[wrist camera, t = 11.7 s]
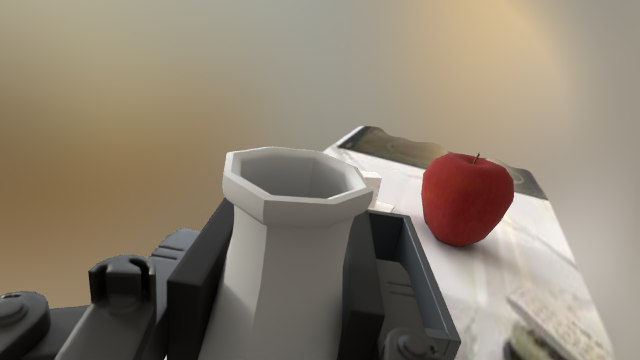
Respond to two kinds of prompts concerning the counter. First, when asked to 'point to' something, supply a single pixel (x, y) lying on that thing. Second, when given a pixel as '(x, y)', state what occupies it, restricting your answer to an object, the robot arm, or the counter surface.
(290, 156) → the flask
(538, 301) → the counter surface
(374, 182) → the napkin holder
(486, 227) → the apple
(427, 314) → the storage bin
